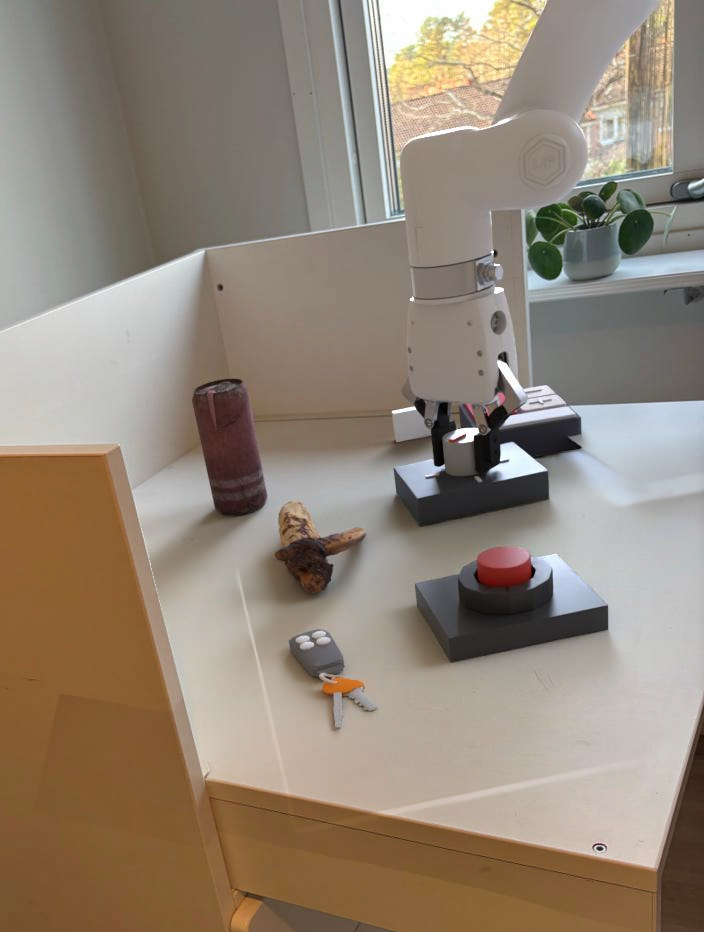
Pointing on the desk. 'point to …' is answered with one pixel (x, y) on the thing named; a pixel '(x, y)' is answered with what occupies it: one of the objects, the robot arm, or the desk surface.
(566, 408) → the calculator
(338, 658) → the key chain
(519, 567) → the power button
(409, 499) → the dial panel
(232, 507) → the can
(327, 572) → the brown gnarled root
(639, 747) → the desk surface
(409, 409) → the eraser
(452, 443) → the knob
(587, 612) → the button base
